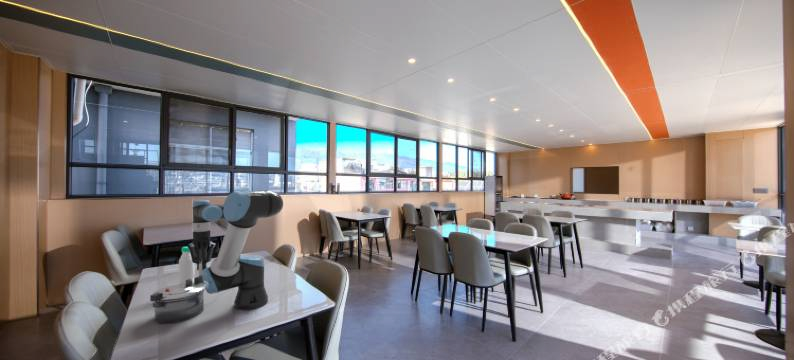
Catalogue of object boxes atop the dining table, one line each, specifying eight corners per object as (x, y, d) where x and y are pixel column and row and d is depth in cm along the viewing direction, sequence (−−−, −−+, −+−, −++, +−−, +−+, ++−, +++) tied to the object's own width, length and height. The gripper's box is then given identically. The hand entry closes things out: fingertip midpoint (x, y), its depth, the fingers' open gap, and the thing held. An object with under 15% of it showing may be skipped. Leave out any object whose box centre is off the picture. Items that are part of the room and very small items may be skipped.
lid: (171, 304, 120) (171, 294, 120) (134, 300, 124) (134, 291, 124) (226, 281, 148) (226, 273, 148) (194, 278, 152) (194, 271, 152)
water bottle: (197, 290, 163) (197, 246, 163) (184, 295, 156) (184, 248, 157) (188, 289, 165) (188, 245, 166) (175, 293, 159) (175, 247, 159)
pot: (173, 328, 121) (173, 304, 121) (138, 323, 125) (138, 300, 125) (224, 302, 147) (224, 282, 147) (193, 299, 151) (193, 280, 151)
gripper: (183, 231, 145) (183, 279, 145) (211, 231, 146) (211, 278, 146) (192, 229, 152) (192, 274, 152) (218, 228, 154) (218, 273, 154)
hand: (201, 276), depth 149 cm, fingers closed
